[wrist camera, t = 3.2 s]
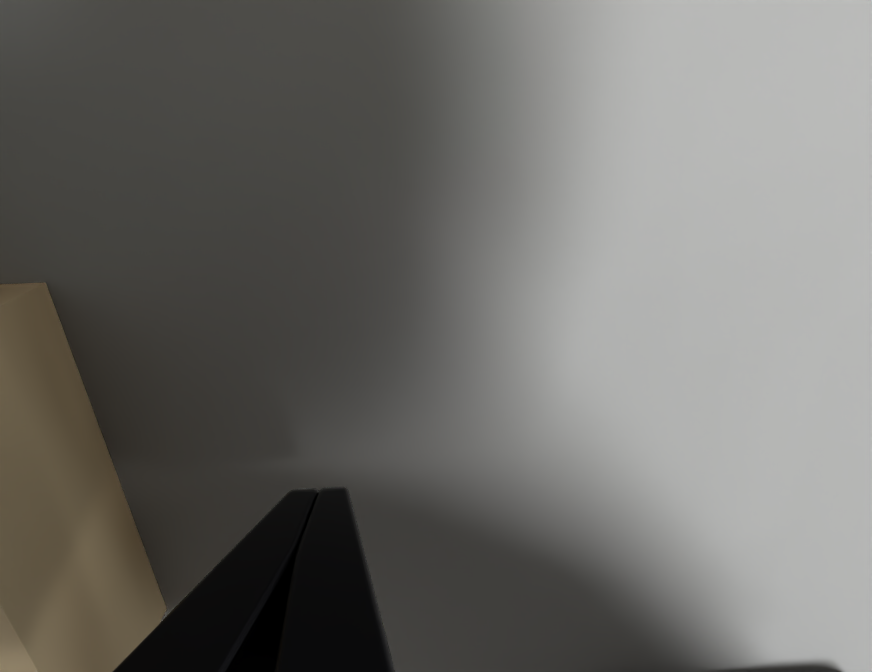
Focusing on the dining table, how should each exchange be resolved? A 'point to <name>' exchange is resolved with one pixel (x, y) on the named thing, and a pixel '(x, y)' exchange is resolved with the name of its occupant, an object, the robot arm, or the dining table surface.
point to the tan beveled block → (61, 510)
